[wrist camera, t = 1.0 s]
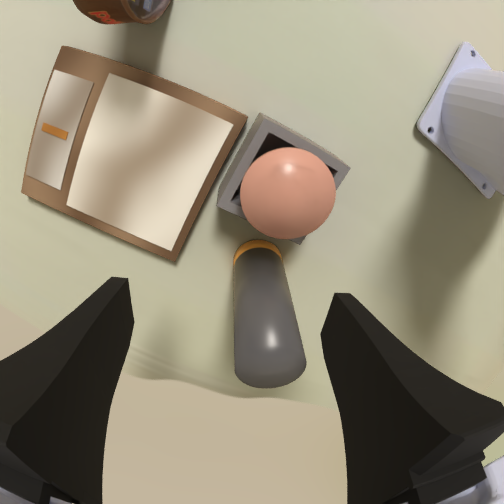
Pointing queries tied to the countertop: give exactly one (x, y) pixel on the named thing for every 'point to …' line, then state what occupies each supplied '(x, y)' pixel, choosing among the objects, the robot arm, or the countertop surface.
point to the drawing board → (126, 150)
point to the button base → (259, 142)
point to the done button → (287, 193)
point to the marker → (264, 319)
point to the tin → (122, 10)
